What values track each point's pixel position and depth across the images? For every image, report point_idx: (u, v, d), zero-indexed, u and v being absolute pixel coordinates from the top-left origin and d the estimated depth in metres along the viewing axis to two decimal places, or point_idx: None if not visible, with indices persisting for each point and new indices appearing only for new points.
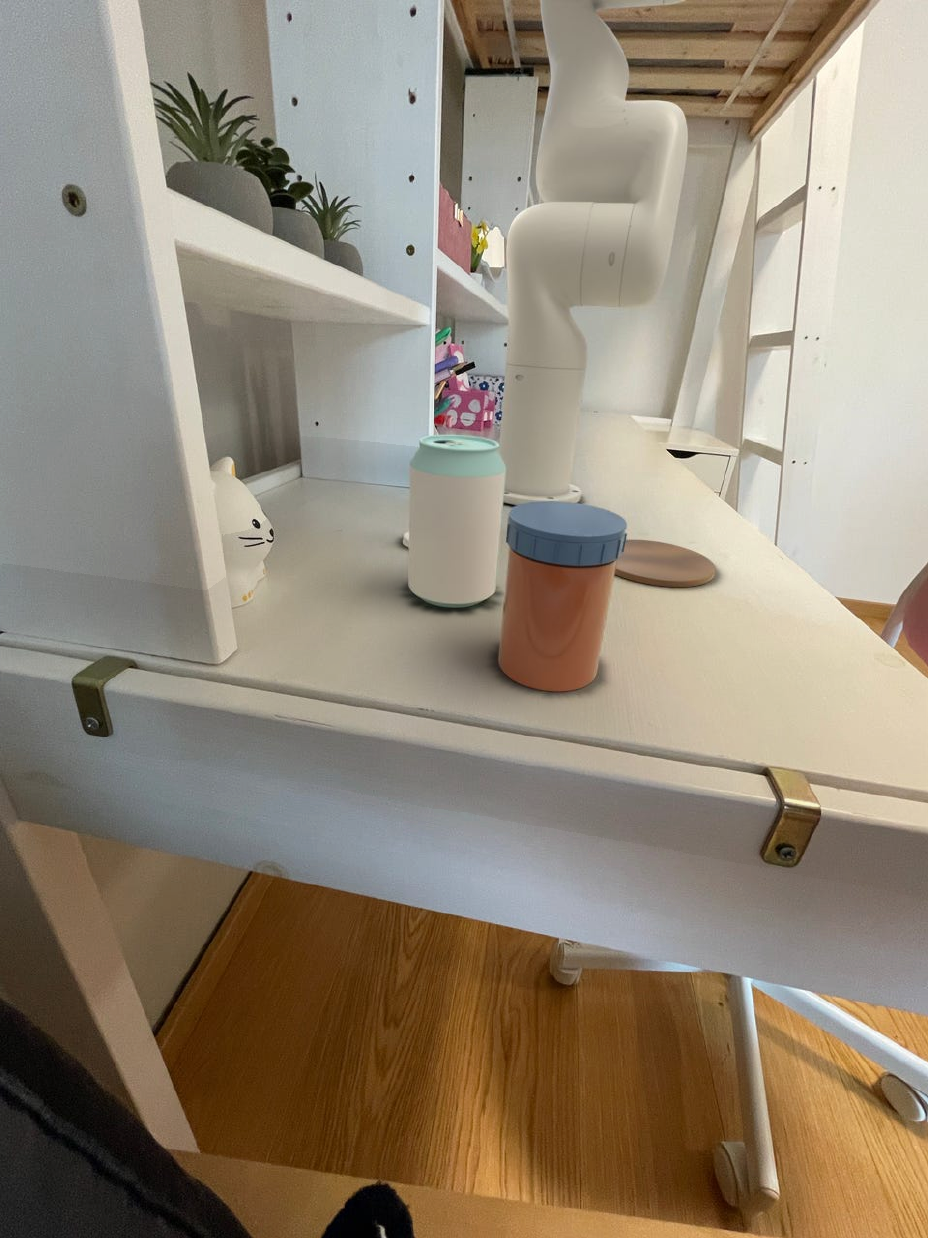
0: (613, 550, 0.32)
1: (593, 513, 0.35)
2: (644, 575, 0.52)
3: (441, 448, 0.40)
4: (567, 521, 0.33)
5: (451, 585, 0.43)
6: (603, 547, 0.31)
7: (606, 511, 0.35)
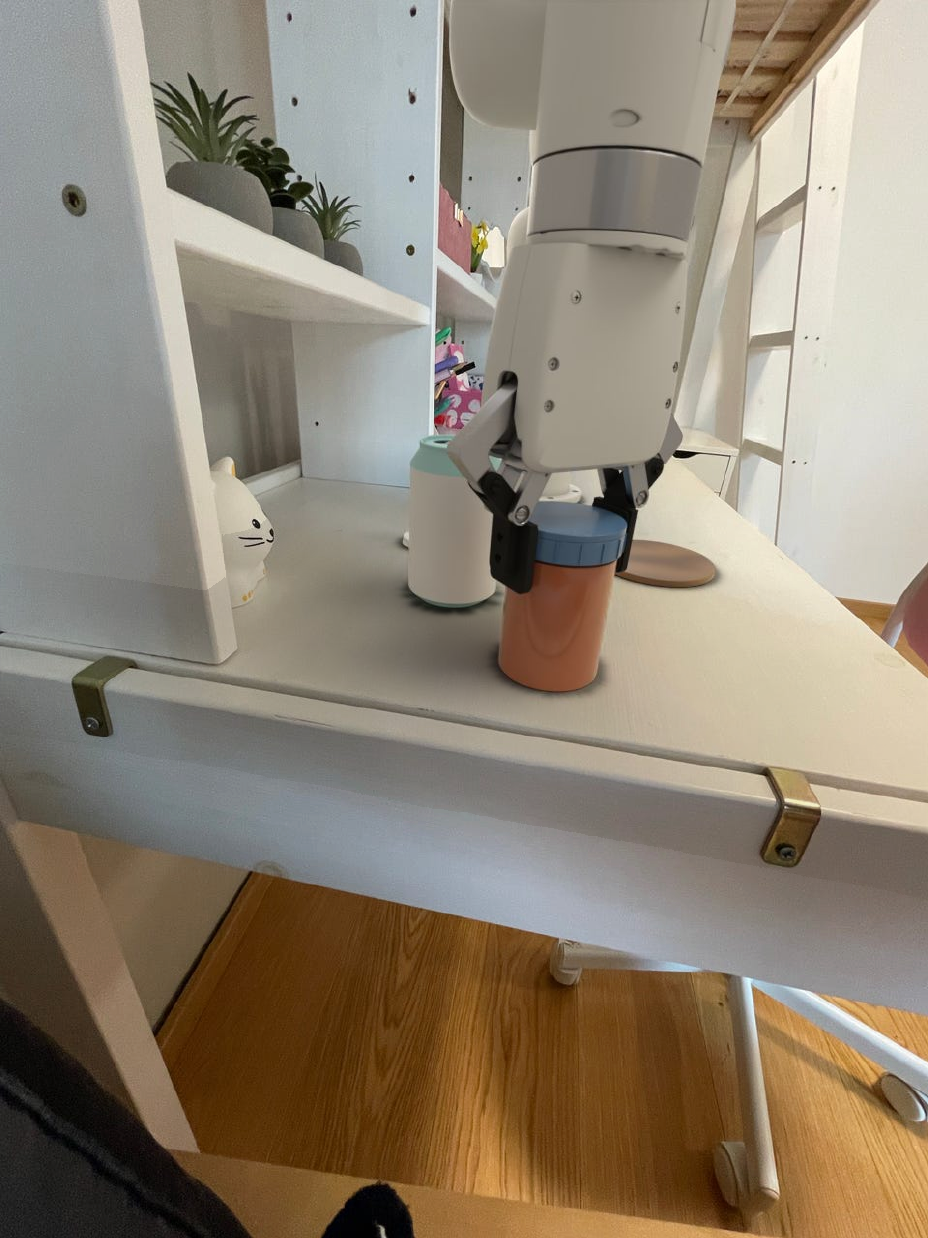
0: (613, 550, 0.32)
1: (593, 513, 0.35)
2: (644, 575, 0.52)
3: (441, 448, 0.40)
4: (567, 521, 0.33)
5: (451, 585, 0.43)
6: (603, 547, 0.31)
7: (606, 511, 0.35)
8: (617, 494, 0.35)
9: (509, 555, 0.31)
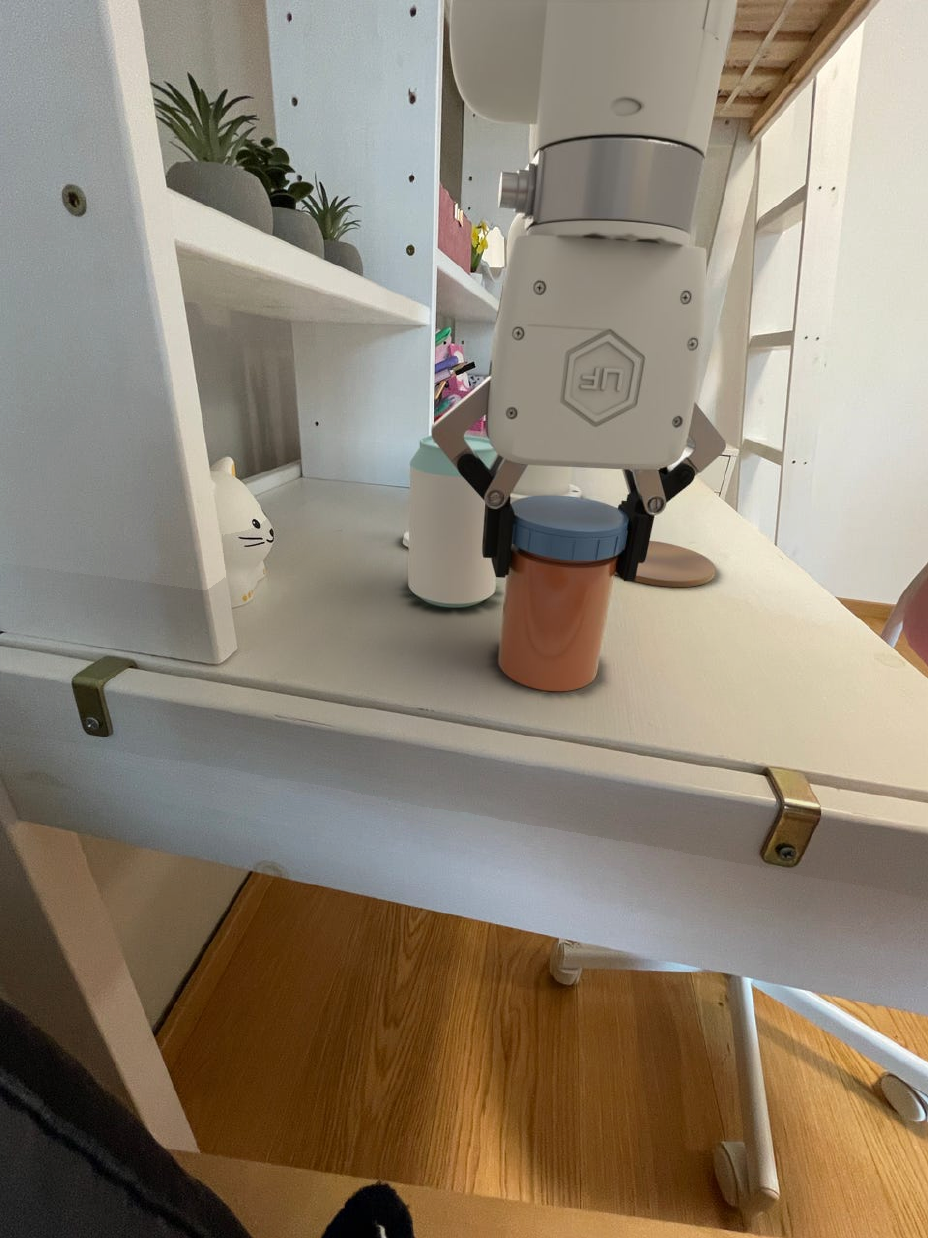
0: None
1: (534, 509, 0.33)
2: (644, 575, 0.52)
3: None
4: (576, 508, 0.34)
5: (451, 585, 0.43)
6: None
7: (514, 509, 0.33)
8: None
9: None
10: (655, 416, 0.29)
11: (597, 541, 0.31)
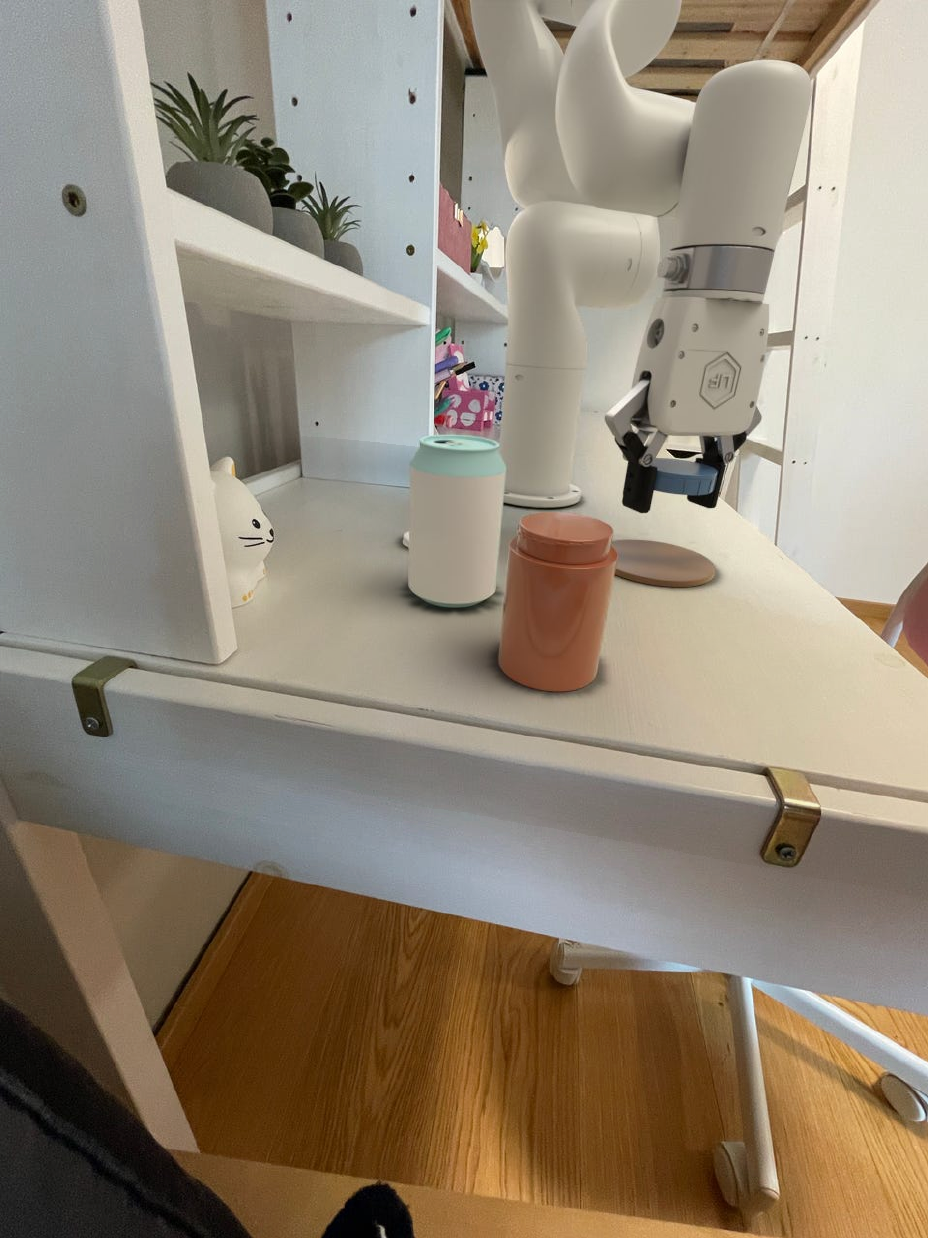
0: None
1: (658, 466, 0.51)
2: (644, 575, 0.52)
3: (441, 448, 0.40)
4: (677, 464, 0.52)
5: (451, 585, 0.43)
6: None
7: None
8: None
9: None
10: (742, 402, 0.48)
11: (709, 481, 0.50)
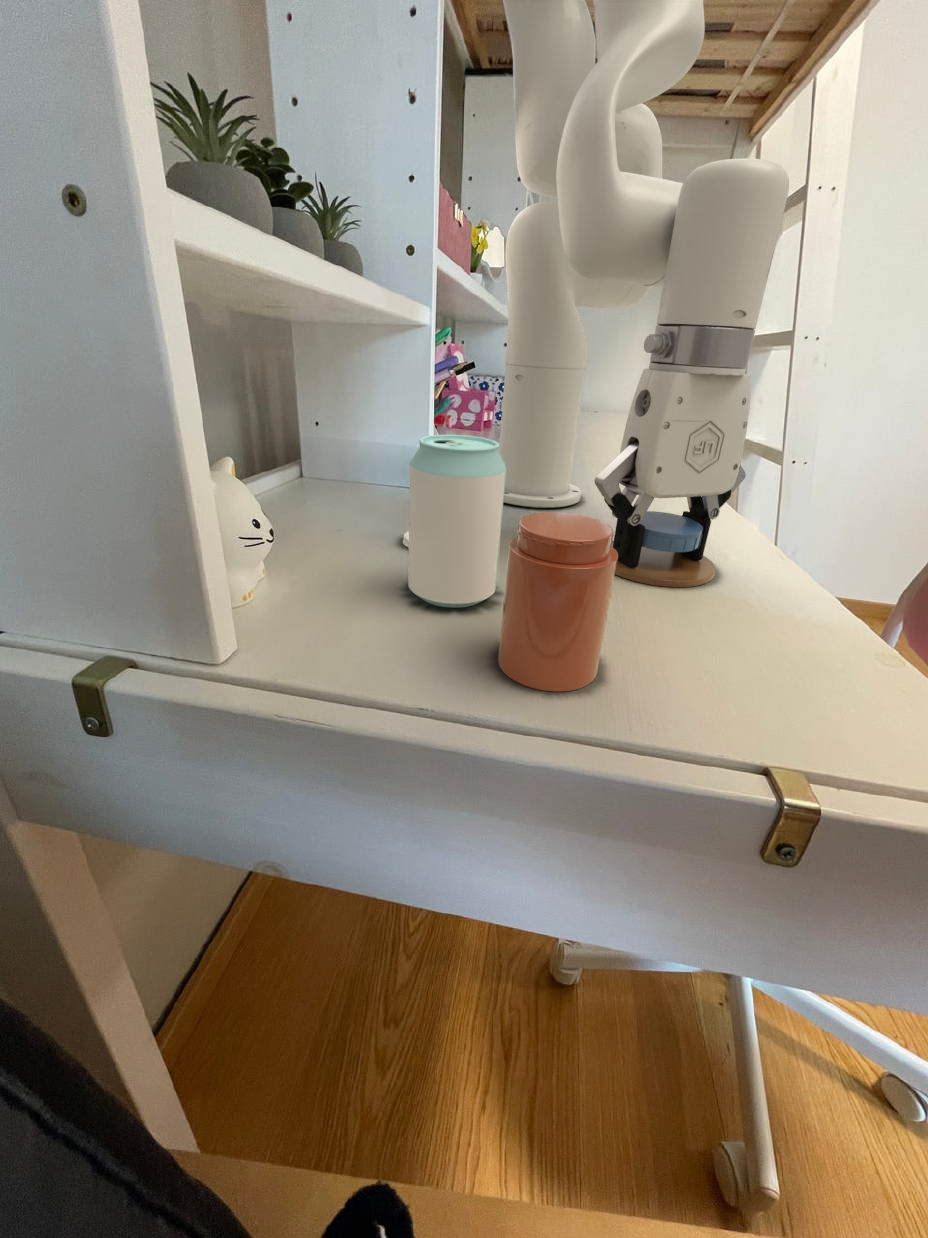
0: None
1: (646, 523, 0.53)
2: (644, 575, 0.52)
3: (441, 448, 0.40)
4: (664, 519, 0.55)
5: (451, 585, 0.43)
6: None
7: None
8: None
9: None
10: (726, 465, 0.50)
11: (695, 539, 0.52)
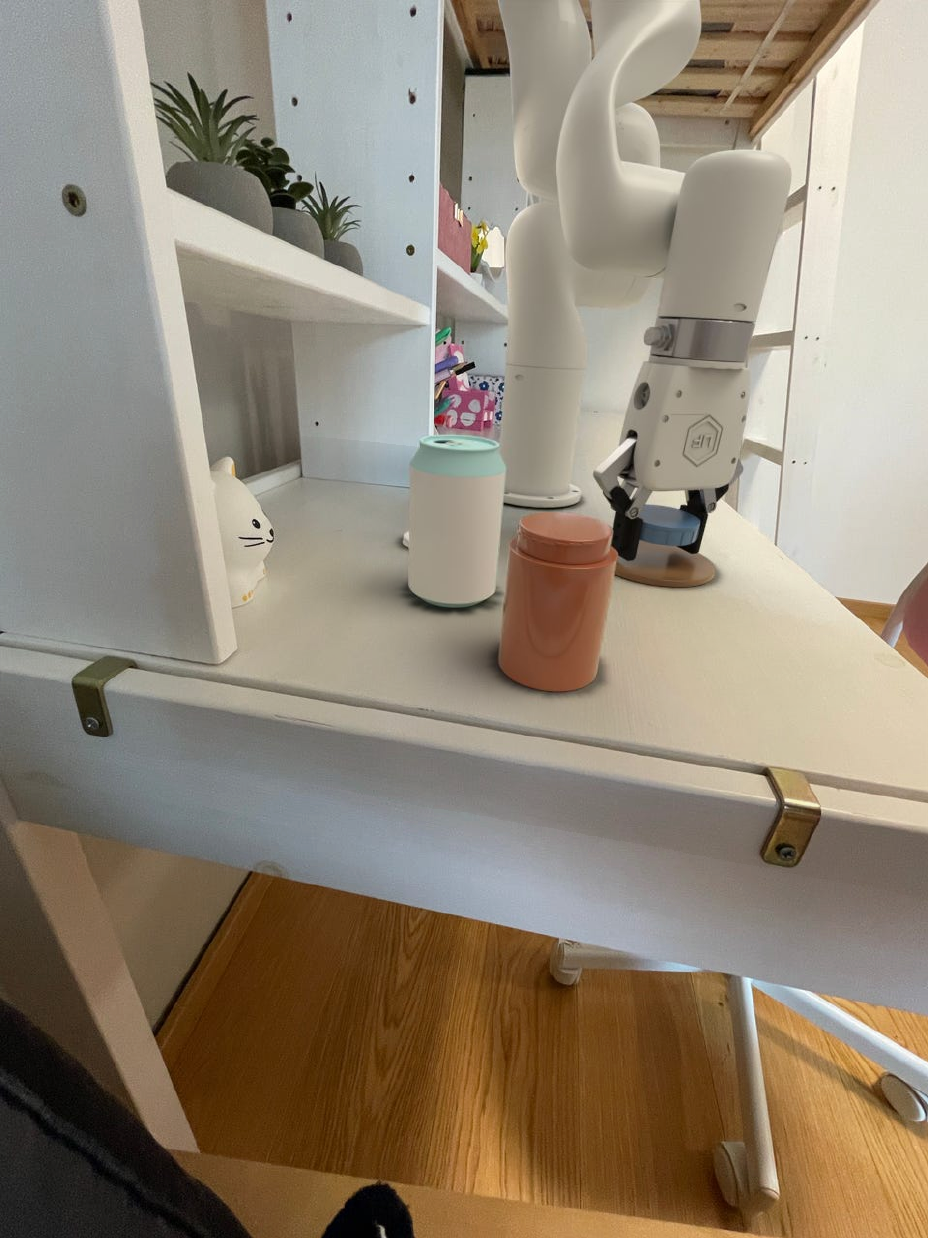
0: None
1: (644, 516, 0.53)
2: (644, 575, 0.52)
3: (441, 448, 0.40)
4: (662, 512, 0.55)
5: (451, 585, 0.43)
6: None
7: None
8: None
9: None
10: (724, 458, 0.50)
11: (692, 533, 0.52)
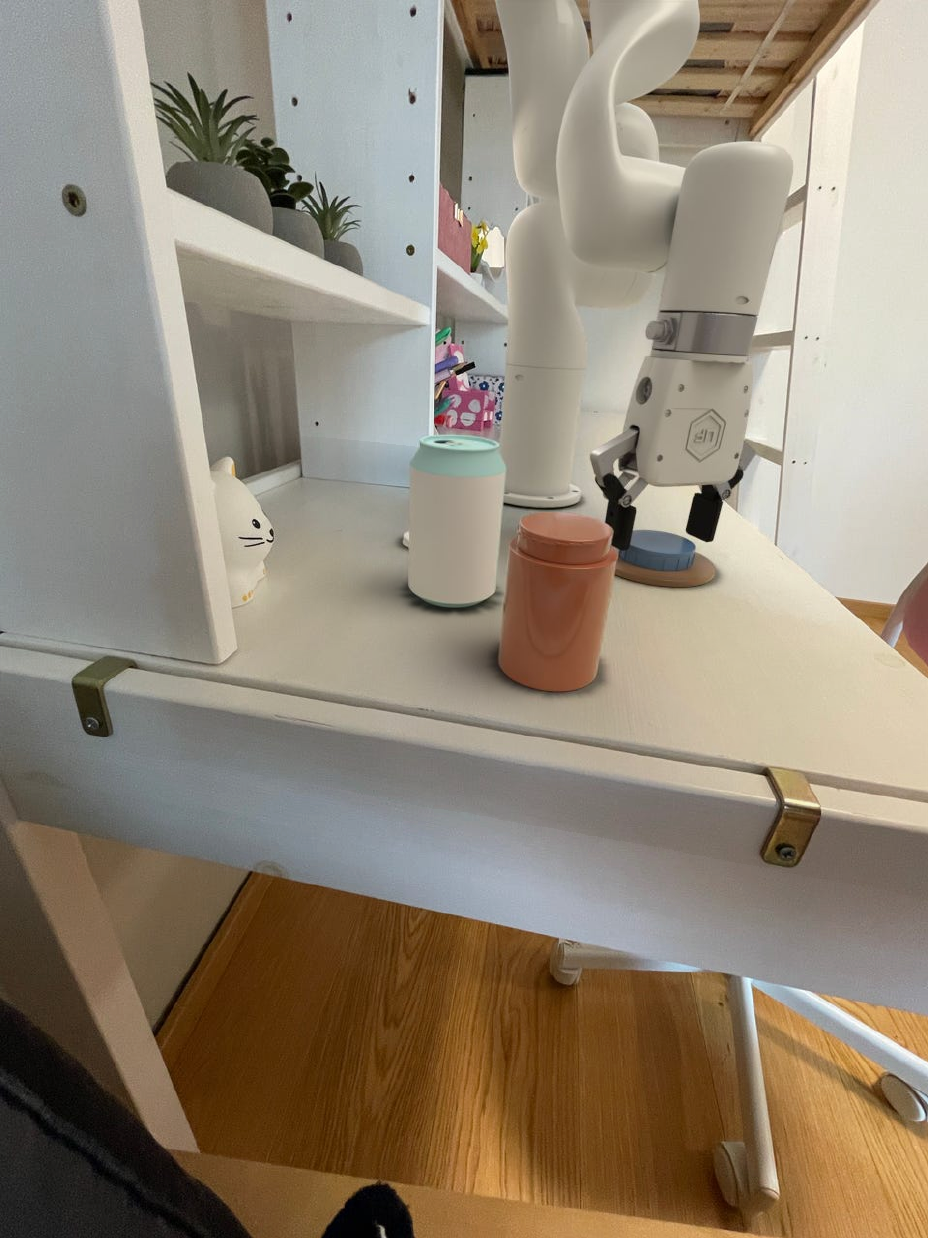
0: None
1: (640, 542, 0.54)
2: (644, 575, 0.52)
3: (441, 448, 0.40)
4: (658, 538, 0.56)
5: (451, 585, 0.43)
6: None
7: (631, 543, 0.54)
8: None
9: None
10: (727, 454, 0.50)
11: (688, 558, 0.53)
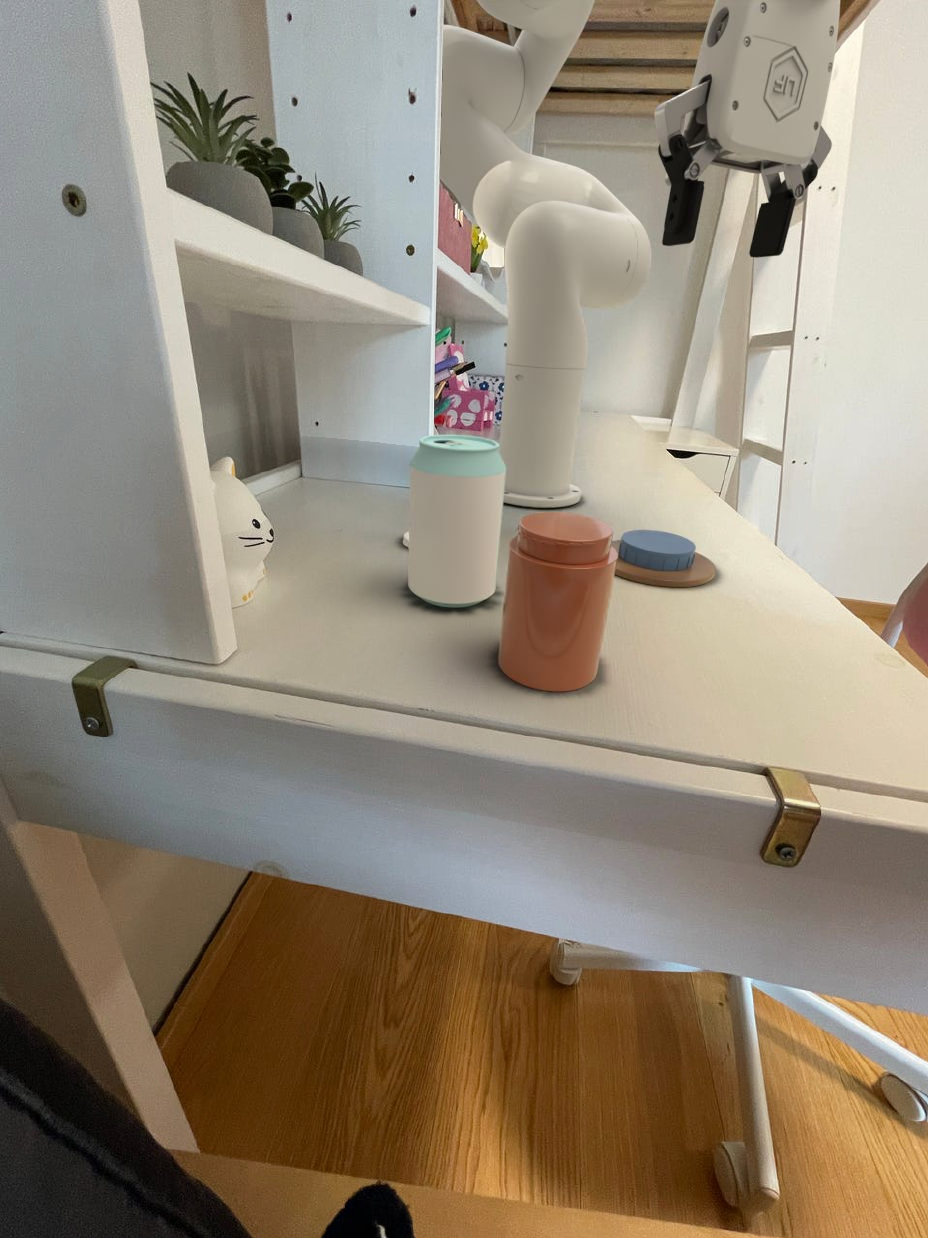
0: None
1: (640, 542, 0.54)
2: (644, 575, 0.52)
3: (441, 448, 0.40)
4: (658, 538, 0.56)
5: (451, 585, 0.43)
6: None
7: (631, 543, 0.54)
8: None
9: None
10: (807, 119, 0.45)
11: (688, 558, 0.53)
